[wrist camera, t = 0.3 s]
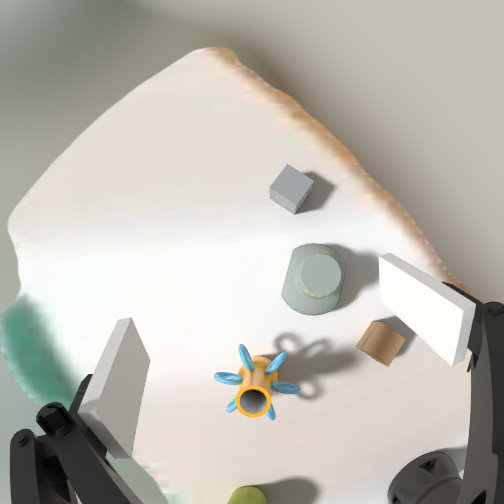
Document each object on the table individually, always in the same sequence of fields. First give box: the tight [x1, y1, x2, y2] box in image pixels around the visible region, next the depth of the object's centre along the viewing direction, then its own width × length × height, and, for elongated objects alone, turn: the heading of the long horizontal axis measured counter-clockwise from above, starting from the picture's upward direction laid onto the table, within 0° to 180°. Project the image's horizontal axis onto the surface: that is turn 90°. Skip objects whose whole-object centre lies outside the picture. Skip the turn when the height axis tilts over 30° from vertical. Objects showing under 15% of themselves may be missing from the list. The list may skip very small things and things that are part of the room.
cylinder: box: [214, 344, 300, 420], centre depth 38 cm, size 12×10×15 cm
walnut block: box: [356, 321, 406, 366], centre depth 43 cm, size 5×5×5 cm
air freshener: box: [281, 243, 346, 316], centre depth 43 cm, size 11×8×10 cm
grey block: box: [270, 164, 314, 214], centre depth 48 cm, size 5×5×5 cm
